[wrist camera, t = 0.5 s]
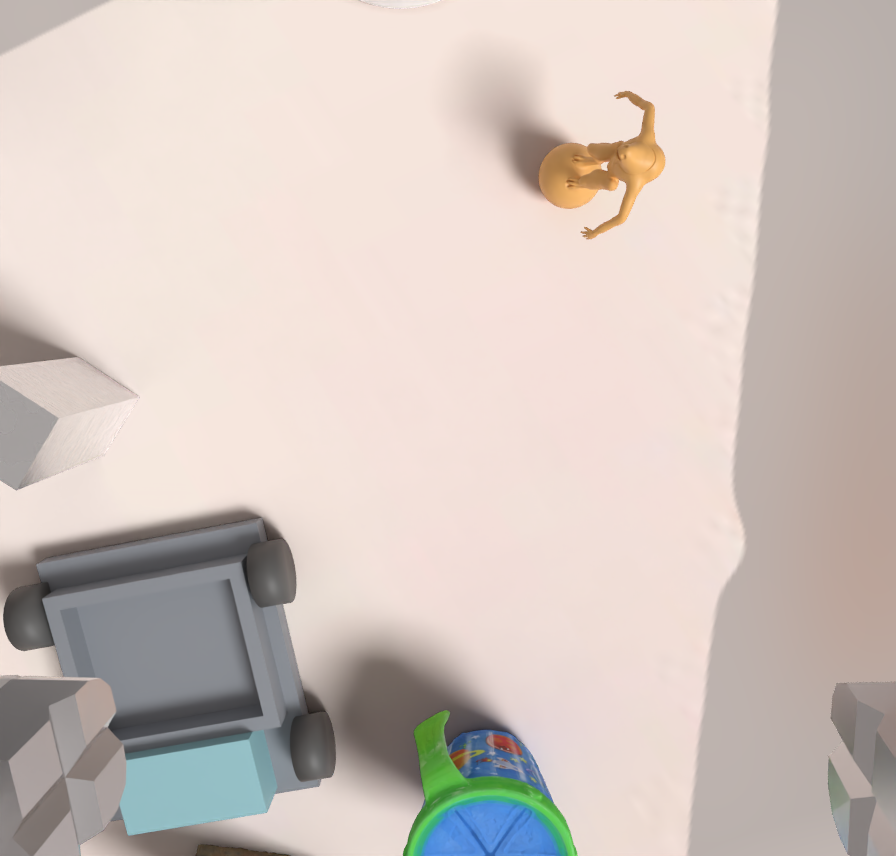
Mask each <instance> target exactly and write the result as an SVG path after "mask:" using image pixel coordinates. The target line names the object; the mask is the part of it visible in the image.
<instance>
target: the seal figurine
mask: <svg viewBox="0 0 896 856" xmlns="http://www.w3.org/2000/svg"><path fill="white" fill-rule="evenodd" d="M195 856H289V855H285V854H284V855H282V854H276V853H267V852H259V851H253V850H247V849H243V848H233V847H232V848H229V847H218V846H213V845H203V844H200V845H198V849H197V853H196V855H195Z"/></svg>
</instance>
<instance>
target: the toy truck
mask: <svg viewBox="0 0 896 856" xmlns="http://www.w3.org/2000/svg"><path fill="white" fill-rule="evenodd" d="M36 566H37V570H38V573H39V577H40V580H41V583H40V584H35V585H29V586H24V587H19V588H16V589H14V590H13V591H12V592H11V593H10V595H9V596H8V598H7V600H6V603H5V607H4V614H3V620H4V628H5V632H6V635H7V637H8V639H9V641H10V642H11V644H12V645H13V646H14V647H15V648H17V649H18V650H21V651H27V650H32V649H38V648H43V647H49V646H54V645H55V647H56V651H57V654H58V658H59V662H60V665H61V669H62V672H63V676H64V677H84V678H101V679H102V680H103V681H104V682H106V683H107V684H108V685H110V686H111V691H112V695H113V699H114V703H115V707H116V713H115V715H114V716H113V718H112V720H111V722H110V724H109V726H108V728H109V729H110V731H111V732H112V733H113V734H114V735H115V736H116V737H117V738H118V739H119V740H120V741H121V743H122V744H123V746H124V752H125V757H126V763H127V764H126V785H125V788H124V791H123V794H122V797H121V801H120V804H119V807H118V810H117V812H116V813H115V814H114V816H113V817H112V819H111V820H110V821H116V820H122V819H124V823H125V826H126V830H127V834H128V836H130V835H136V834H142V833H148V832H154V831H160V830H166V829H172V828H178V827H184V826H190V825H196V824H202V823H208V822H214V821H220V820H226V819H232V818H238V817H244V816H250V815H256V814H262V813H267V812H268V809H269V807H270V804H271V802H272V799H273V797H274V794H277V793H283V792H289V791H295V790H301V789H307V788H313V787H319V786H320V782H321V779H324V778H330V777H332V775H333V773H334V769H335V761H336V750H335V739H334V733H333V728H332V724H331V721H330V718H329V716H328V714H327V713H326V712H318V713H312V714H309V713H308V709H307V705H306V701H305V696H304V692H303V688H302V684H301V680H300V675H299V671H298V667H297V663H296V658H295V654H294V650H293V646H292V642H291V637H290V633H289V629H288V625H287V620H286V616H285V612H284V608H283V604H286V603H291V602H293V600H294V598H295V594H296V572H295V565H294V561H293V557H292V553H291V550H290V548H289V546H288V544H287V542H286V541H285V540H284V539H276V540H271V541H268V540H267V536H266V532H265V528H264V523H263V519H262V517H261V518H256V519H251V520H246V521H240V522H235V523H230V524H224V525H219V526H214V527H208V528H203V529H198V530H192V531H187V532H182V533H176V534H171V535H166V536H161V537H155V538H150V539H145V540H139V541H134V542H129V543H123V544H118V545H113V546H107V547H102V548H97V549H91V550H86V551H81V552H76V553H70V554H65V555H60V556H54V557H49V558H46V559H44V560H43V561H41V562H39V563H38V564H36Z"/></svg>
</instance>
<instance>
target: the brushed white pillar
mask: <svg viewBox="0 0 896 856" xmlns="http://www.w3.org/2000/svg"><path fill="white" fill-rule="evenodd" d="M139 398H140V397H139V396H138V395H136V394H135V393H133V392H132V391H130V390H128V389H127V388H125V387H124V386H122V385H121V384H119V383H118V382H116V381H115V380H113V379H112V378H110V377H109V376H107V375H105V374H104V373H102V372H101V371H99V370H98V369H96V368H95V367H93V366H92V365H90V364H89V363H87V362H85V361H84V360H82V359H81V358H79V357H74V358H65V359H57V360H48V361H40V362H32V363H23V364H15V365H6V366H0V480H1V481H2V482H4V483H5V484H7V485H8V486H10V487H12V488H13V489H15V490H18V489H21V488H23V487H26V486H28V485H31V484H34V483H36V482H39V481H41V480H44V479H46V478H49V477H51V476H54V475H56V474H59V473H61V472H64V471H66V470H69V469H71V468H74V467H76V466H79V465H82V464H84V463H87V462H89V461H92V460H94V459H97V458H99V457H102V456H104V455H105V454H106V452H107V450H108V449H109V447H110V445H111V444H112V442H113V440H114V439H115V437H116V436H117V434H118V432H119V431H120V429H121V427H122V426H123V424H124V422H125V421H126V419H127V417H128V416H129V414H130V413H131V411H132V409H133V408H134V406H135V404H136V403H137V401H138V399H139Z"/></svg>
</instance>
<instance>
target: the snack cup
mask: <svg viewBox="0 0 896 856" xmlns="http://www.w3.org/2000/svg"><path fill="white" fill-rule="evenodd" d="M449 715H450V712H449V711H448V710H445V711H442V712H439V713H437V714H435V715H434V716H432V717H430V718H428V719H426V720H425V721H423V722H422V723H420V724H419V725H418V726H417V727H416V728H415V730H414V737H415V741H416V745H417V750H418V756H419V766H420V773H421V779H422V786H423V791H424V796H425V800H424V804H423V806H422V809H421V811H420V812H419V814H418V815H417V817H416V819H415V821H414V823H413V825H412V828H411V831H410V833H409V837H408V842H407V845H406V847H405V848H404V851H403V856H578V855H577V851H576V848H575V846H574V845H573V840H572V837H571V833H570V830H569V828H568V825H567V823H566V820H565V818H564V817H563V815H562V814H561V812H560V811H559V810H558V808H557V807H556V806H555V805H554V802H553V800H552V798H551V795H550V793H549V791H548V788H547V786H546V784H545V781H544V779H543V777H542V774H541V773H540V771H539V768H538V765H537V764H536V762H535V760H534V758H533V756H532V755H531V753H530V752H529V750H528V749H527V748H526V747H525V746H524V745H523V744H522V743H521V742H520V741H518V740H517V738H516V737H515V736H513V735H511V734H509V733H508V732H501V731H495V730H477V731H471V732H468V733H462V734H461V735H459V736H458V737H457V738H455V739H454V740H453V742H452V743H451V744H449V745H448V746H447V745H446V741H445V736H444V726H445V724H446V722H447V721H448V718H449Z"/></svg>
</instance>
